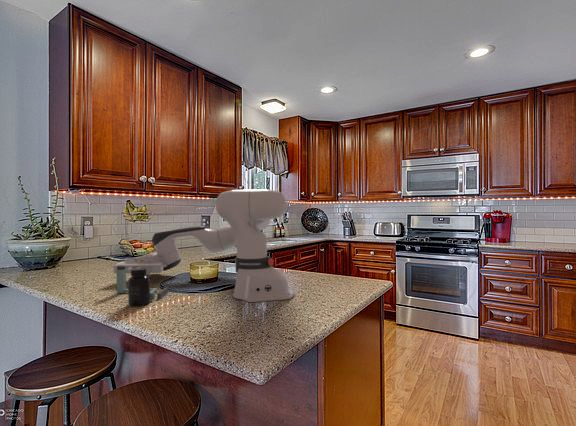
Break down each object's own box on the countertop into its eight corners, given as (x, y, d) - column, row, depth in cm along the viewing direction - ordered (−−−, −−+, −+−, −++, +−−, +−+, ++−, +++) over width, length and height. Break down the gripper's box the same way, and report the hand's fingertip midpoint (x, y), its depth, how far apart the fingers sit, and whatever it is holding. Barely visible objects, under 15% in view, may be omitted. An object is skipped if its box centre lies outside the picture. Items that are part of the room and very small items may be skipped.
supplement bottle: (154, 302, 112) (153, 268, 112) (136, 308, 106) (135, 271, 106) (142, 299, 115) (141, 266, 115) (124, 305, 110) (123, 269, 109)
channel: (168, 292, 124) (168, 287, 124) (160, 298, 116) (160, 293, 116) (140, 293, 124) (140, 288, 124) (131, 299, 116) (131, 293, 116)
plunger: (166, 290, 127) (165, 264, 127) (153, 299, 114) (152, 271, 114) (119, 291, 126) (119, 265, 126) (102, 300, 114) (101, 272, 113)
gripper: (168, 271, 147) (156, 278, 134) (122, 272, 147) (106, 279, 133) (168, 257, 147) (156, 263, 133) (122, 258, 147) (106, 264, 133)
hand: (131, 271), depth 133 cm, fingers closed
